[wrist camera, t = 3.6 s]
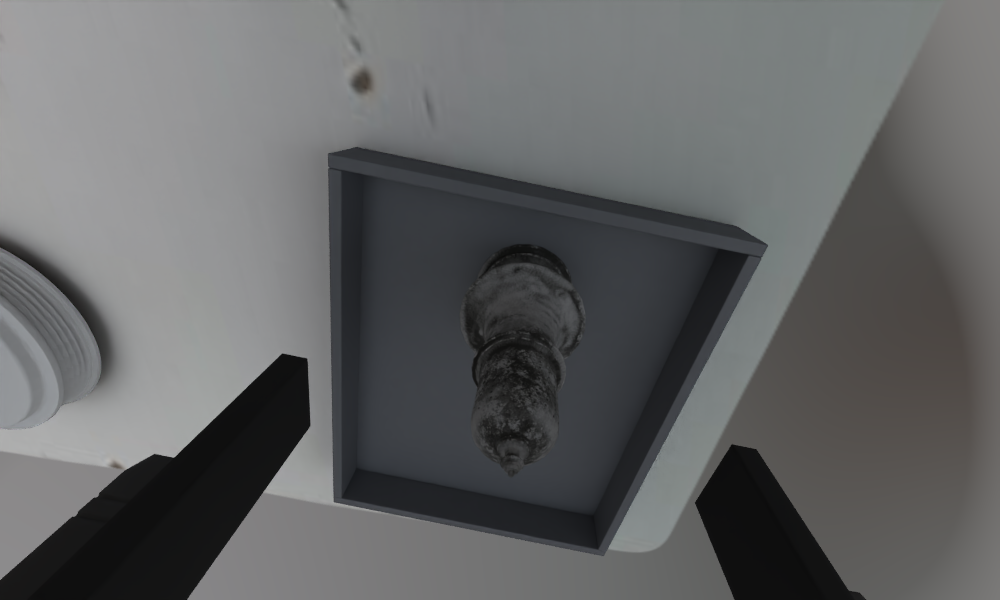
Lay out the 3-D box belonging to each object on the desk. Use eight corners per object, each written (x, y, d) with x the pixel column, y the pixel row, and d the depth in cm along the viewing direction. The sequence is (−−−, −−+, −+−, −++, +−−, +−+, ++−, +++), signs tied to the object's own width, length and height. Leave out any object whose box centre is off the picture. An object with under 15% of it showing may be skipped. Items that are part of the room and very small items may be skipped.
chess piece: (597, 262, 20) (666, 437, 9) (552, 349, 23) (565, 564, 12) (491, 221, 20) (437, 357, 9) (457, 315, 22) (384, 508, 12)
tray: (355, 146, 19) (327, 153, 16) (737, 226, 19) (769, 245, 17) (351, 467, 29) (333, 502, 27) (598, 517, 30) (603, 556, 27)
